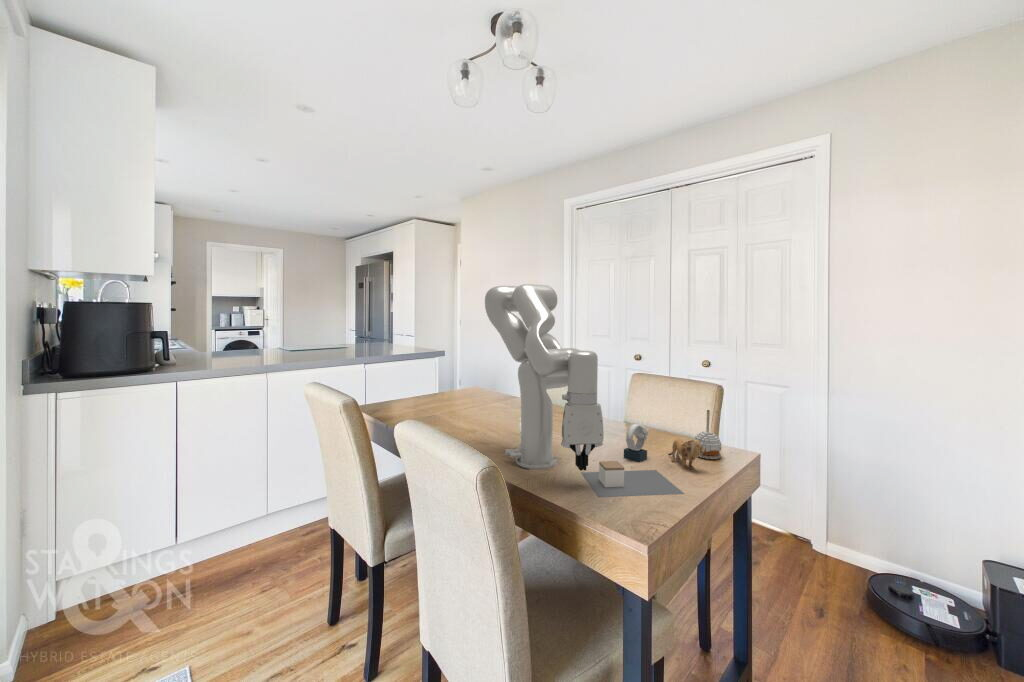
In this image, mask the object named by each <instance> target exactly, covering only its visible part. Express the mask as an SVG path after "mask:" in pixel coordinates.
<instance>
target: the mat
mask: <svg viewBox="0 0 1024 682" xmlns="http://www.w3.org/2000/svg"><path fill="white" fill-rule="evenodd" d="M580 474H581V475H582V476H583V478H584V480H586V482H587V483H588V485H589V486H590V487H591V489H592V491H593V492H594V493H595V495H596V496H597V498H613V497H615V498H616V497H619V498H620V497H634V496H635V497H639V496H665V495H666V496H667V495H669V496H670V495H685V493H684V492H683V491H682V490H681V489H680V488H679V487H677V486H676V485H675V484H673V482H672V481H670V480H669V479H667V478H666V477H665V476H664V475H663V474H661V473H660V472H659V471H658V470H657V469H647V470H624V487H604V485H603V484H602V483H601V482H600V480H599V471H587V472H585V471H581V472H580Z"/></svg>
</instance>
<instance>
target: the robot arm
mask: <svg viewBox="0 0 1024 682" xmlns="http://www.w3.org/2000/svg"><path fill="white" fill-rule="evenodd" d="M557 305H558V294H557V292H556V291H555V289H554V288H553V287H552V286H550V285H547V284H531V283H529V284H528V283H526V284H521V285H518V286H515V285H514V286H513V285H497V286H494V287H491V288H490V289H489V290H487V291H486V293H485V296H484V309H485V313H486V316H487V317H488V320H489V321H490V323H491V324H492V326H493V327H494V328H495V330H496V331H497V332H498V334H499V335H500V337H501V339H502V341H503V343H504V345H505V346H506V348H507V350H508V352H509V354H510V355H511V357H512V359H513V360H514V361H515V362H517V363H521V364H520V365H519V366H518V368H517V369H518V370H517V380H518V384H519V390H520V391H519V392H520V444H519V445H518V447H515V449H511V448H509V449H508V448H507V449H506V448H505V449H504V450H505V451H504V453H505V456H506V457H507V456H508V457H510V458H515V464H516V465H517V466H518V467H521V468H524V469H531V470H544V469H545V470H546V469H550V468H554V467H555V466H556V465H558V457H557V456H555V455H553V435H554V434H553V433H554V432H553V428H554V427H553V424H554V423H553V421H554V420H553V416H554V415H553V414H554V411H553V409H554V408H553V407H554V405H553V402H552V401H553V400H552V399H551V397H550V395H549V394H548V392H547V390H552V389H560V388H566V387H567V391H566V393H565V394H562V395H561V398H562V401H567V402H565V403H564V404H565V405H564V408H563V413H562V422H561V443H560V444H561V446H562V447H563V448H565V449H566V448H567V449H570V450H572V452H574V453H575V457H574V458H575V459H574V460H575V463H574V464H575V467H577V469H578V470H579V471H581V472H583V471H587V467H588V466H589V456H590V454H591V452H592V451H593V450H594V449H595V448H598V447H599V448H600V447H601V446H603V445H604V443H603V442H604V439H605V438H604V420H603V419H604V418H603V411H602V405H601V404H600V403H598V371H599V370H598V369H599V367H598V363H599V362H598V361H599V359H598V355H597V353H596V352H595V351H592V350H580V349H578V348H575V347H574V348H573V347H569V348H566V347H565V348H562V346H561V345H560V343H559V341H558V340H557V339H556V337H554V335H552V334H550V333H549V332H551V330H552V329H553V327H554V326H555V324H556V317H555V316H554V314H553V313H552V311H554V310H555V308H556V307H557ZM513 312H515V313H517V312H518V314H519V316H520V317H521V319H520V318H519V316H517V315H515V314H514V313H513ZM581 445H582V450H581Z"/></svg>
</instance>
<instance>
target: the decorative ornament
mask: <svg viewBox="0 0 1024 682" xmlns="http://www.w3.org/2000/svg"><path fill="white" fill-rule="evenodd" d="M710 412H711V411H710V409H706V426H705V427H706V429H705V431H700V433H699V432H698V433H696V435H694V438H693V440H697V441H699V444H700V445H701V446H702V447H703V448H705V451H704V452H703V454H700V456H699V457H698V458H701V459H706V460H717V459H720V458H721V457H722V456H721V453H720V451H721V450H722V442H721V439H720V437H718V435H717V434H715V433H713V432H711V431H710Z"/></svg>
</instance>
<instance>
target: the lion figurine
mask: <svg viewBox="0 0 1024 682" xmlns="http://www.w3.org/2000/svg"><path fill="white" fill-rule="evenodd" d="M671 447H672V451H671V452H670V453H668V454H667V456H671V462H672V463H676V459H678V460H679V459H681V463H682V465H681V466H682V467H681V469H682V470H687V464H686V462H687V461H688V468H689V469H691V470H692V469H694V468H695V467H694V466H693V462H694V461H695V460H696V459H697V458H700V457H699V456H700V454H703V452H704V451H705V448H703V447H702V446H701V445H700V444H699V441H697V440H694V439H693V440H688V441H685V442H683V440H681V439H680V438H679V439H678V438H677V439H675V440H673V442H672V445H671Z"/></svg>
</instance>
